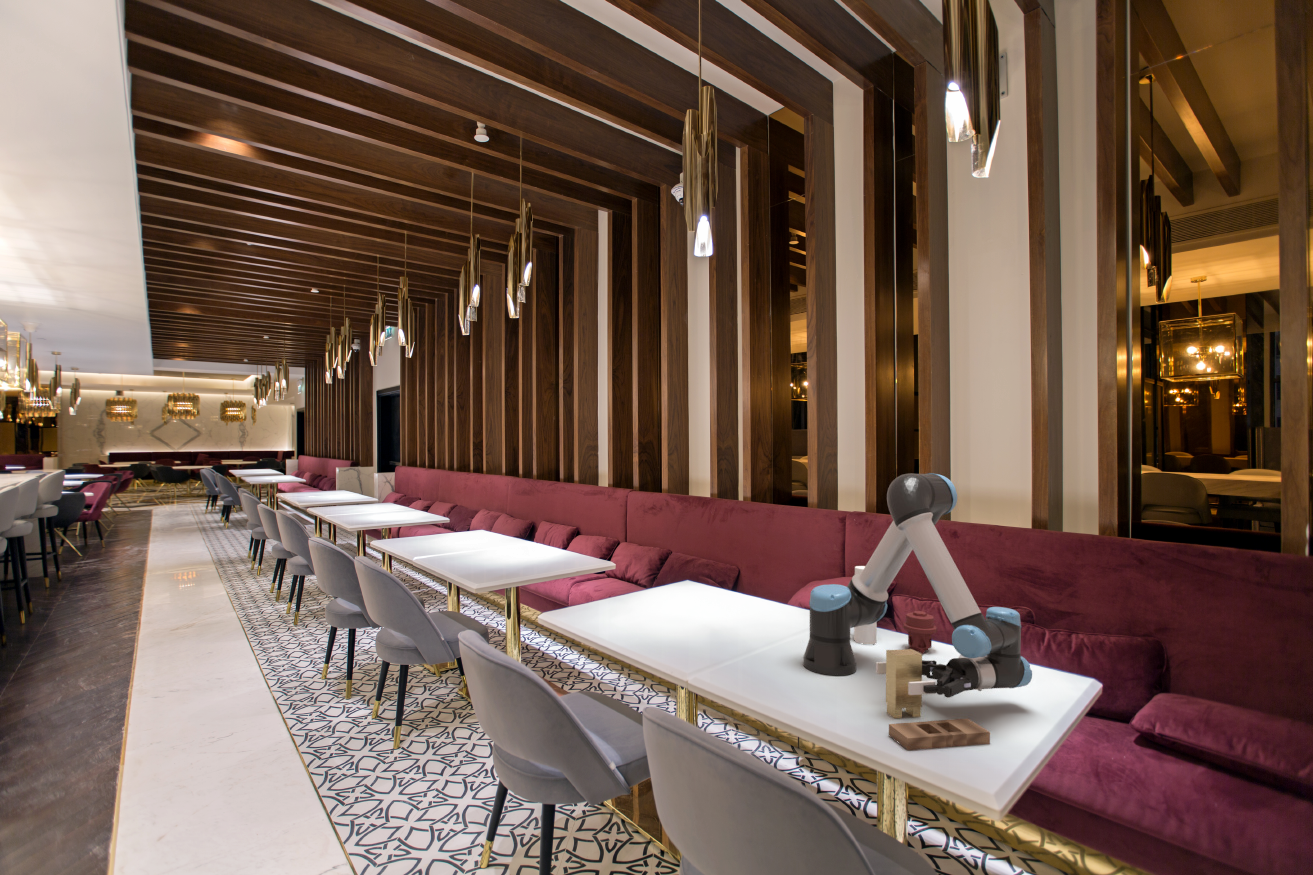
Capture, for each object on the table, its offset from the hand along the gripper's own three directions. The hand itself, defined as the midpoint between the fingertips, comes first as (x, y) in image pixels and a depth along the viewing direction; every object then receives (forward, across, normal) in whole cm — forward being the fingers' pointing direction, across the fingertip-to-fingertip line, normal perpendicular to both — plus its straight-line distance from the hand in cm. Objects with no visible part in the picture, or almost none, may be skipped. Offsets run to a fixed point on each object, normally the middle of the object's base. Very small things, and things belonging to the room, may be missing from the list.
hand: (892, 677), depth 146 cm
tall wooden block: (-3, 0, -9) cm, 10 cm away
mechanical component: (-39, +45, -9) cm, 60 cm away
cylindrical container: (-26, +56, -9) cm, 63 cm away
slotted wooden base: (-3, -13, -9) cm, 16 cm away
